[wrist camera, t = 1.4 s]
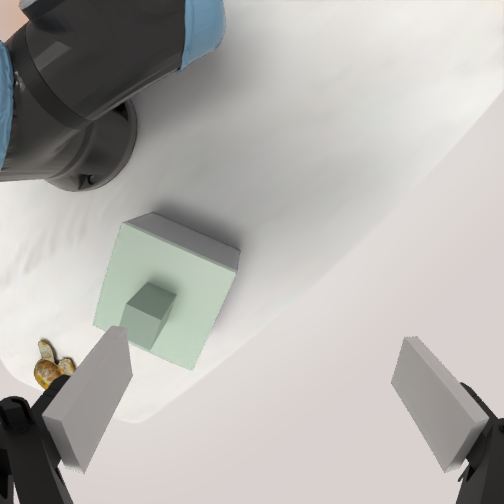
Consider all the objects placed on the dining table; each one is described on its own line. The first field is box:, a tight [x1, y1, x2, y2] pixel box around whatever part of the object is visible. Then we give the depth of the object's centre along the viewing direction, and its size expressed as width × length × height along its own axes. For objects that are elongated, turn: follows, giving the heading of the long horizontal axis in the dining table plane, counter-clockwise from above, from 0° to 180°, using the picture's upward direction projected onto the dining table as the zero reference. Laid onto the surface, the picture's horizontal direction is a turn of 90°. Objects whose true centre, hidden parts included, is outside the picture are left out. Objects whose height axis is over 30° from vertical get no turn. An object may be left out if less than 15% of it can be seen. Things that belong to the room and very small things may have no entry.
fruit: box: [34, 341, 75, 390], centre depth 42 cm, size 8×8×4 cm
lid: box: [93, 222, 237, 371], centre depth 30 cm, size 12×12×9 cm
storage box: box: [126, 212, 240, 270], centre depth 36 cm, size 12×12×9 cm
